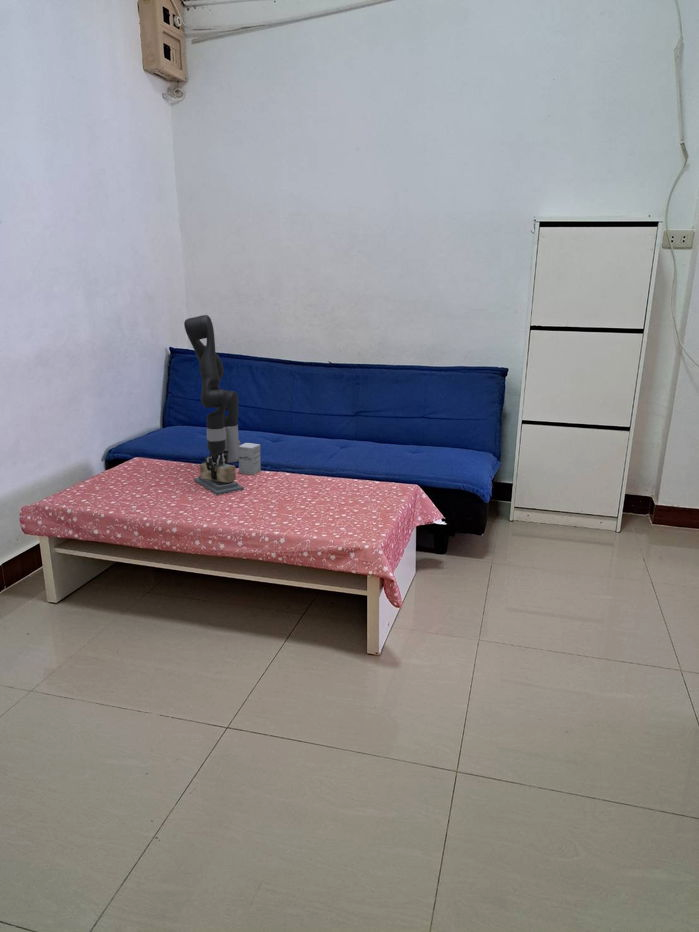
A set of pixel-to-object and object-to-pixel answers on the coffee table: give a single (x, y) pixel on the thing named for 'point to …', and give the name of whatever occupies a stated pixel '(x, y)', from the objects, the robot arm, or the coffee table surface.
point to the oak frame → (219, 472)
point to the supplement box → (249, 458)
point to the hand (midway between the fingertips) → (218, 477)
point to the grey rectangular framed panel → (218, 486)
